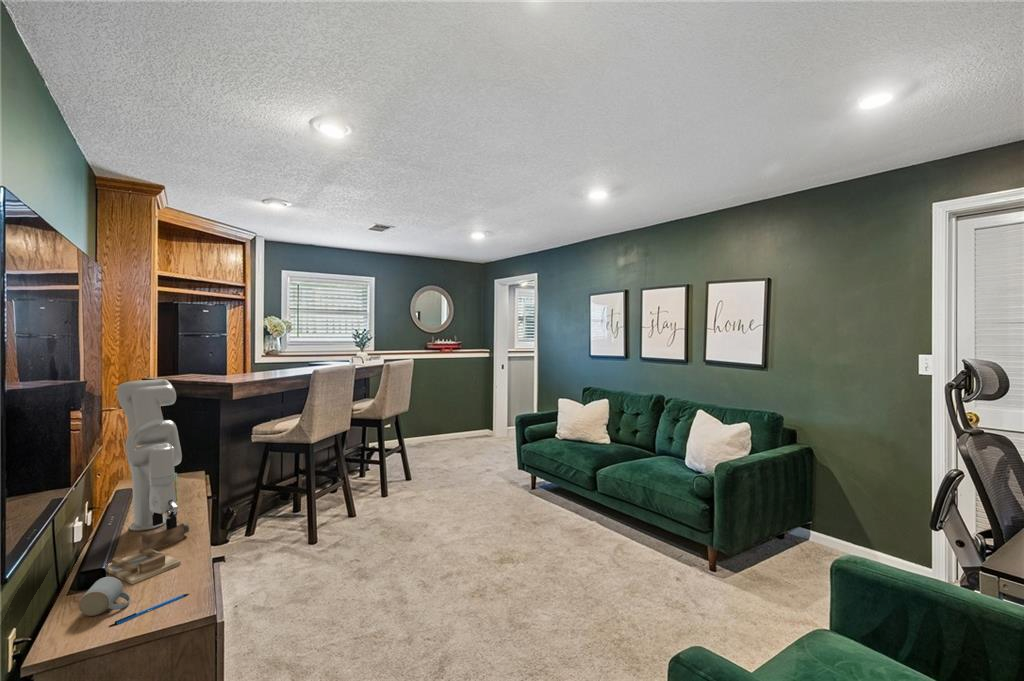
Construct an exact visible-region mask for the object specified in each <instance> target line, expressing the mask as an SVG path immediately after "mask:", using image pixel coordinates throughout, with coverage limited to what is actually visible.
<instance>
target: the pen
mask: <svg viewBox="0 0 1024 681" xmlns="http://www.w3.org/2000/svg"><path fill="white" fill-rule="evenodd" d="M188 595H190V593H189V592H188V593H184V594H181V595H178V596H176V597H174V598H172V599H169V600H166V601H164V602H162V603H159V604H156V605H154V606H151V607H149V608H146V609H144V610H142V611H139V612H135V613H132V614H129V615H127V616H125V617H123V618H120V619H118V620H116V621H114V623H112V624H110V625H108V627H109V628H110V627H113V626H117V625H119V624H121V623H124V622H127V621H130V620H131V619H134V618H136V616H137V617H139V616H141V615H143V614H142V613H144V614H145V612H146V613H148V612H147V611H148V610H151V609H154V608H156V609H158V608H161V607H163V606H166V605H169V604H170V603H173V602H175V601H177V600H180V599H182V598H185V597H187V596H188ZM160 606H161V607H160ZM157 607H158V608H157ZM154 610H155V609H154ZM151 611H152V610H151ZM140 614H141V615H140ZM138 615H139V616H138Z"/></svg>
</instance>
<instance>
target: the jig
mask: <svg viewBox="0 0 1024 681" xmlns="http://www.w3.org/2000/svg"><path fill="white" fill-rule="evenodd" d="M107 564H108V567H107V571H108V572H107V573H109V574H111V575H113V576H114V577H115V578H117V579H121V580H122V581H125V582H126V583H128V584H130V585H134V584H136V583H139V582H141V581H143V580H144V581H145V580H146V579H149V578H151V577H153V576H156V575H159V574H161V573H163V572H166V571H169V570H171V569H173V568H175V567H178V566H180V565H182V564H181V560H179V559H177V558H174V557H172V556H170V555H168V554H165V553H162V552H160V551H157V550H156V549H155V550H153V549H147V548H142V547H141V548H139V552H136V553H134V554H132V555H129V556H126V557H124V558H120V557H114V558H111V562H110V563H107Z"/></svg>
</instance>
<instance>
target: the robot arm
mask: <svg viewBox="0 0 1024 681" xmlns="http://www.w3.org/2000/svg"><path fill="white" fill-rule="evenodd" d="M116 397H117V401H118V403H119V405H120V407H121V409H122V410H123V412H124V415H125V416H126V422H127V427H128V434H127V436H126V438H125V439H126V440H125V445H124V446H125V453H126V458H127V462H128V466H129V470H130V475H131V484H132V503H133V522H131V523H130V524H129V530H130V531H136V532H139V531H147V530H148V531H149V530H153V529H156V528H159V527H162V526H164V525H166V529H167V530H170V529H173V528H176V527H177V521H178V519H177V518H178V509H179V506H178V505H177V501H176V494H175V488H174V483H175V473H176V472H175V467H176V466H178V465H179V464H181V462H182V459H183V454H182V447H181V443H180V437H179V431H178V427H177V425H176V422H174V421H173V420H171V419H164V416H163V411H162V408H161V407H164V406H172V405H174V404H175V403H176V400H177V392H176V390H175V387H174V386H173V385H172V383H171V382H170V381H169V380H167V379H165V378H158V379H155V378H154V379H145V380H144V379H143V380H142V379H141V380H133V381H132V380H131V381H127V382H123V383H120V384H118V386H117V388H116ZM164 514H165V515H164Z"/></svg>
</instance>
